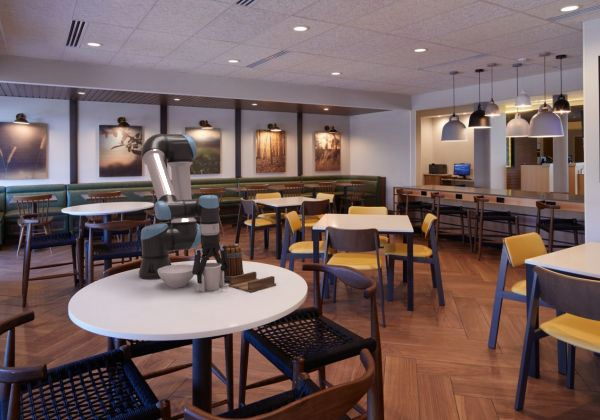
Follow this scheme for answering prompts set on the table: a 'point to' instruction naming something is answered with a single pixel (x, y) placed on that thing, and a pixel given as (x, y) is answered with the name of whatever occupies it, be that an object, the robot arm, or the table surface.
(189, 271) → the bowl
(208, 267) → the dixie cup
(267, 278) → the rail stand
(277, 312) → the table surface
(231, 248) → the mug
